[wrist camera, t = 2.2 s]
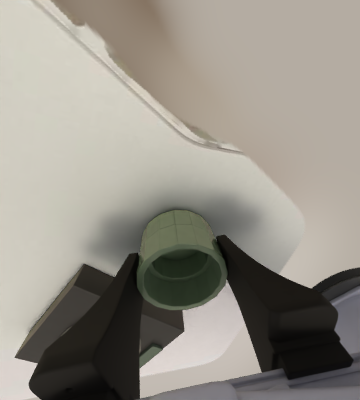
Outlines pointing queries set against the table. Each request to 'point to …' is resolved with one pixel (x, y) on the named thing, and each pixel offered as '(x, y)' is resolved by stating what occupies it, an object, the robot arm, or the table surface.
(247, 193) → the table surface
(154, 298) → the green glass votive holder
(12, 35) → the table surface
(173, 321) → the scale
